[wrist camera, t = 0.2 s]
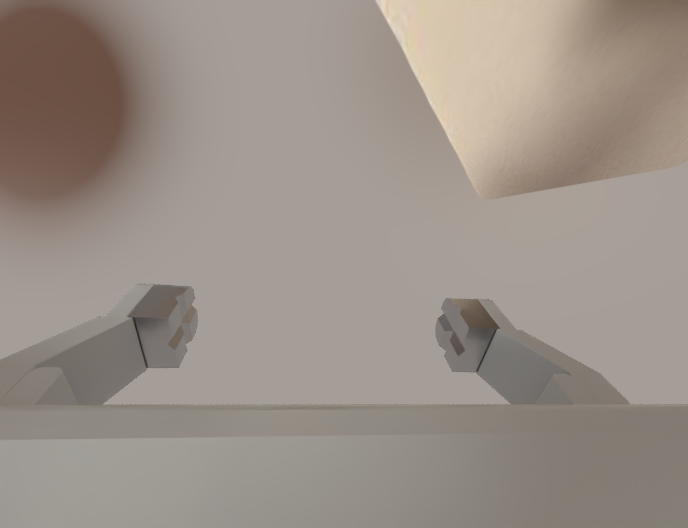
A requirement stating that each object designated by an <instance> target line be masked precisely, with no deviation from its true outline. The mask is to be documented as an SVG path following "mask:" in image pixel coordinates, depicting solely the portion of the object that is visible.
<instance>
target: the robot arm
mask: <svg viewBox="0 0 688 528" xmlns="http://www.w3.org/2000/svg"><path fill="white" fill-rule="evenodd" d="M194 299H195V296H194V290H193V289H192V288H191V287H190V286H189V287H188V286H174V285H158V284H157V285H155V284H136V285H134V286H133V287H132V288H131V289H130V290H129V292H128V293H127V294H126V295H125V296H124V297H123V298H122V299H121V300H120V301H119V302H118V304H116V306H115V307H114V308H113V309H112V310H111V311H110V312H109V313H108V314H107V315H106V316H105V317H101V316H99V317H97V318H95V319H92V320H90V321H88V322H85V323H83V324H81V325H79V326H76V327H74V328H72V329H70V330H67V331H65V332H63V333H60V334H58V335H56V336H53V337H51V338H49V339H47V340H44V341H42V342H40V343H38V344H35V345H33V346H31V347H28V348H26V349H24V350H21V351H19V352H17V353H15V354H12V355H10V356H8V357H5V358H3V359H1V360H0V528H688V404H632V405H631V404H630V403H629V402H628V401H627V400H626V399H625V398H624V397H623V396H622V395H621V394H620V393H619V392H618V391H617V390H616V389H615V388H614V387H613V386H612V385H611V384H610V383H609V382H608V381H607V380H606V379H605V378H604V377H603V376H602V375H601V374H600V373H598V372H597V371H595V370H593V369H591V368H589V367H588V366H586V365H584V364H582V363H580V362H578V361H577V360H575V359H573V358H571V357H569V356H568V355H566V354H564V353H562V352H560V351H558V350H557V349H555V348H553V347H551V346H549V345H547V344H546V343H544V342H542V341H540V340H538V339H537V338H535V337H533V336H531V335H529V334H527V333H526V332H524V331H522V330H516V328H515V327H514V326H513V325H512V324H511V322H510V321H509V320H508V319H507V318H506V316H505V315H504V314H503V313H502V312H501V310H500V309H499V308H498V307H497V306H496V305H495V303H494V302H493V301H492V300H489V299H449V298H447V299H446V300H445V301H444V302H443V305H442V307H441V309H442V311H443V313H444V314H443V315H442V316H440V317H439V318H438V320H437V324H436V338H437V341H438V343H439V346H440V347H442V348H443V349H444V350H446V353H445V358H446V360H447V362H448V364H449V366H450V368H451V370H452V371H453V372H476V373H477V374H478V375H479V376H480V377H481V378H482V379H483V380H485V381H486V382H487V383H488V384H489V385H490V386H491V387H492V388H494V389H495V390H496V391H497V392H498V393H499V394H500V395H501V396H503V397H504V398H505V399H506V400H507V401H508V402H509V403H511V404H510V405H509V404H507V405H405V404H403V405H402V404H400V405H397V404H395V405H392V404H389V405H386V404H385V405H384V404H381V405H380V404H379V405H378V404H377V405H376V404H374V405H373V404H368V405H367V404H366V405H364V404H363V405H362V404H360V405H359V404H357V405H354V404H352V405H102V404H103V403H104V402H106V401H107V400H108V399H110V398H111V397H112V396H114V395H115V394H116V393H117V392H119V391H120V390H121V389H123V388H124V387H125V386H126V385H128V384H129V383H130V382H132V381H133V380H134V379H135V378H137V377H138V376H139V375H140V374H142V373H143V372H144V371H146V370H147V369H146V368H179V366H180V364H181V362H182V360H183V358H184V356H185V354H186V351H187V348H186V343H188V342H190V341H191V340H192V339H193V337H194V335H195V333H196V328H197V321H198V319H197V317H198V316H197V310H196V309H195V308H194V307H193V306H192V303H193V301H194Z"/></svg>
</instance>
